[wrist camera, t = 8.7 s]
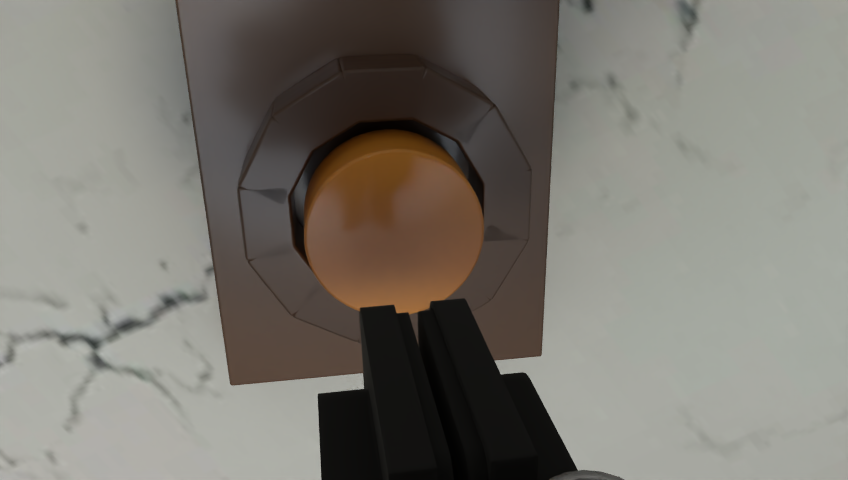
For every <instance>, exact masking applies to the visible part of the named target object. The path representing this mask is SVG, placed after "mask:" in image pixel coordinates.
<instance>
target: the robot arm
mask: <svg viewBox="0 0 848 480" xmlns="http://www.w3.org/2000/svg"><path fill="white" fill-rule="evenodd" d="M360 327H361V344H362V361H363V377H364V389H360V390H350V391H341V392H331V393H321V394H318V411H319V433H320V455H321V477H322V480H624V479H622V478H620V477H617V476H614V475H611V474H607V473H604V472H599V471H588V470H579V471H578V470H577V468H576V466H575V464H574V462H573V460H572V458H571V456H570V455H569V453H568V451H567V449H566V447H565V445H564V443H563V441H562V439H561V437H560V435H559V434H558V432H557V430H556V428H555V426H554V424H553V422H552V420H551V418H550V416H549V414H548V413H547V411H546V409H545V407H544V405H543V403H542V401H541V399H540V397H539V395H538V393H537V391H536V390H535V388H534V386H533V384H532V382H531V380H530V378H529V377H528V375H527V374H526V373H523V372H522V373H512V374H503V375H501V374H500V372H499V370H498V368H497V366H496V363H495V361H494V359H493V357H492V355H491V353H490V350H489V348H488V346H487V344H486V342H485V340H484V337H483V335H482V333H481V331H480V329H479V327H478V324H477V322H476V320H475V318H474V316H473V314H472V311H471V309H470V307H469V305H468V303H467V301H466V299H465V298H461V299H450V300H439V301H431V302H430V307H429V310H427V311H418V343H417V339H416V336H415V333H414V329H413V326H412V322H411V319H410V316H409V313H408V312H405V313H396V309H395V306H394V305H383V306H372V307H361V308H360Z"/></svg>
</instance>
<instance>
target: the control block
mask: <svg viewBox="0 0 848 480" xmlns="http://www.w3.org/2000/svg"><path fill="white" fill-rule="evenodd" d="M175 1H176V8H177V15H178V22H179V29H180V36H181V43H182V50H183V57H184V64H185V71H186V78H187V85H188V92H189V99H190V106H191V113H192V120H193V127H194V134H195V141H196V148H197V155H198V162H199V169H200V176H201V183H202V190H203V197H204V204H205V211H206V218H207V225H208V232H209V239H210V246H211V253H212V260H213V267H214V274H215V281H216V288H217V295H218V302H219V309H220V316H221V323H222V330H223V337H224V344H225V351H226V358H227V365H228V372H229V379H230V384H231V385H242V384H253V383H263V382H274V381H284V380H295V379H305V378H316V377H326V376H337V375H347V374H358V373H363V361H362V344H361V327H360V311H358V310H355V309H353V308H351V307H349V306H347V305H345V304H343V303H342V302H340V301H339V300H337V299H336V298H334V297H333V296H332V295H331V294H330V293H329V292H327V291H326V289H325V288H324V287H323V286H322V285H321V284H320V283H319V281H318V280H317V278H316V277H315V275H314V273H313V271H312V269H311V267H310V265H309V262H308V259H307V256H306V252H305V245H304V203H305V195H306V192H307V188H308V185H309V182H310V180H311V178H312V175H313V174H314V172H315V170H316V169H317V167H318V166H319V164H320V163H321V162H322V161H323V159H324V158H325V157H326V156H327V155H328V154H329V153H330V152H331V151H332V150H333V149H335V148H336V147H337V146H339V145H340V144H342V143H343V142H345V141H347V140H349V139H351V138H352V137H355V136H358V135H360V134H363V133H367V132H371V131H375V130H384V129H397V130H404V131H409V132H413V133H417V134H419V135H422V136H424V137H427V138H429V139H430V140H432V141H434V142H435V143H437V144H439V145H440V146H441V147H442V148H444V149H445V150H446V151H447V152H448V153H449V154H450V155H451V156H452V157H453V158H454V160H455V161H456V163H457V164H458V165H459V167H460V169H461V170H462V172H463V173H464V175H465V177H466V178H467V180H468V181H469V183H470V185H471V186H472V188H473V190H474V192H475V193H476V195H477V197H478V200H479V203H480V205H481V208H482V213H483V218H484V238H483V244H482V248H481V252H480V255H479V258H478V260H477V263H476V264H475V266H474V268H473V270H472V272H471V273H470V275H469V276H468V278H467V279H466V281H465V282H464V283H463V284H462V285H461V286H460V287H459V288H458V289H457V290H456V291H455V292H454V293H453V294H452V295H450V296H449V297H448V298H446V299H445V300H450V299H461V298H465V299H466V301H467V303H468V305H469V307H470V309H471V311H472V314H473V316H474V318H475V320H476V322H477V324H478V327H479V329H480V331H481V333H482V335H483V337H484V340H485V342H486V344H487V346H488V348H489V350H490V353H491V355H492V357H493V359H494V360H504V359H515V358H525V357H536V356H541V354H542V336H543V317H544V297H545V277H546V258H547V238H548V218H549V198H550V179H551V159H552V139H553V120H554V100H555V80H556V60H557V41H558V21H559V1H560V0H175ZM427 310H429V308H428V309H426V310H423V311H427ZM409 316H410V319H411V322H412V326H413V329H414V333H415V336H416V339H417V343H418V312H417V313H413V314H409Z"/></svg>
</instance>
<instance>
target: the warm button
mask: <svg viewBox="0 0 848 480" xmlns="http://www.w3.org/2000/svg"><path fill="white" fill-rule="evenodd" d="M483 238H484V218H483V213H482V208H481V205H480V203H479V200H478V197H477V195H476V193H475V192H474V190H473V188H472V186H471V185H470V183H469V181H468V180H467V178H466V177H465V175H464V173H463V172H462V170H461V169H460V167H459V165H458V164H457V163H456V161H455V160H454V158H453V157H452V156H451V155H450V154H449V153H448V152H447V151H446V150H445V149H444V148H442V147H441V146H440V145H439V144H437V143H435V142H434V141H432V140H430V139H429V138H427V137H424V136H422V135H419V134H417V133H413V132H409V131H404V130H397V129H384V130H375V131H371V132H367V133H363V134H360V135H358V136H355V137H352V138H351V139H349V140H347V141H345V142H343V143H342V144H340V145H339V146H337V147H336V148H335V149H333V150H332V151H331V152H330V153H329V154H328V155H327V156H326V157H325V158H324V159H323V161H322V162H321V163H320V164H319V166H318V167H317V169H316V170H315V172H314V174H313V175H312V178H311V180H310V182H309V185H308V188H307V192H306V195H305V203H304V245H305V252H306V256H307V259H308V262H309V265H310V267H311V269H312V271H313V273H314V275H315V277H316V278H317V280H318V281H319V283H320V284H321V285H322V286H323V287H324V288H325V289H326V291H327V292H329V293H330V294H331V295H332V296H333V297H334V298H336V299H337V300H339V301H340V302H342V303H343V304H345V305H347V306H349V307H351V308H353V309H355V310H358V311H360V308H361V307H372V306H383V305H394V306H395V309H396V313H405V312H408V313H409V314H413V313H417V312H418V311H423V310H426V309H428V308H429V307H430V302H431V301H439V300H445V299H446V298H448V297H449V296H450V295H452V294H453V293H454V292H455V291H456V290H457V289H458V288H459V287H460V286H461V285H462V284H463V283H464V282H465V281H466V279H467V278H468V276H469V275H470V273H471V272H472V270H473V268H474V266H475V264H476V263H477V260H478V258H479V255H480V252H481V248H482V244H483Z"/></svg>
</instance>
